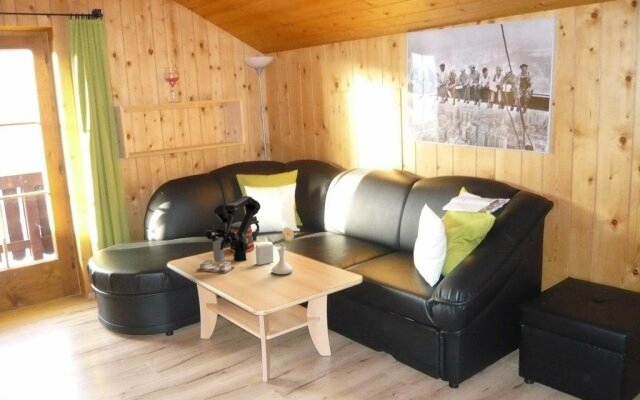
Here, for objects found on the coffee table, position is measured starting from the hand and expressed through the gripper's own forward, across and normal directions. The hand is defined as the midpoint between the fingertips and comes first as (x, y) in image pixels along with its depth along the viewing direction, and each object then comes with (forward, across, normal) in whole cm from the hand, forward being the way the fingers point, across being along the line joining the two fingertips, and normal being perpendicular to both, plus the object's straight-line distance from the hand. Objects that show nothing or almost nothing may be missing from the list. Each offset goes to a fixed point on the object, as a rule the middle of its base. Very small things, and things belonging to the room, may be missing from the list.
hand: (217, 249), depth 320 cm
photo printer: (-6, +18, +25) cm, 31 cm away
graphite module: (+4, 0, +6) cm, 7 cm away
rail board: (+6, -4, +13) cm, 15 cm away
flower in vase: (+3, +34, +16) cm, 38 cm away
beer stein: (-22, -6, +42) cm, 48 cm away
